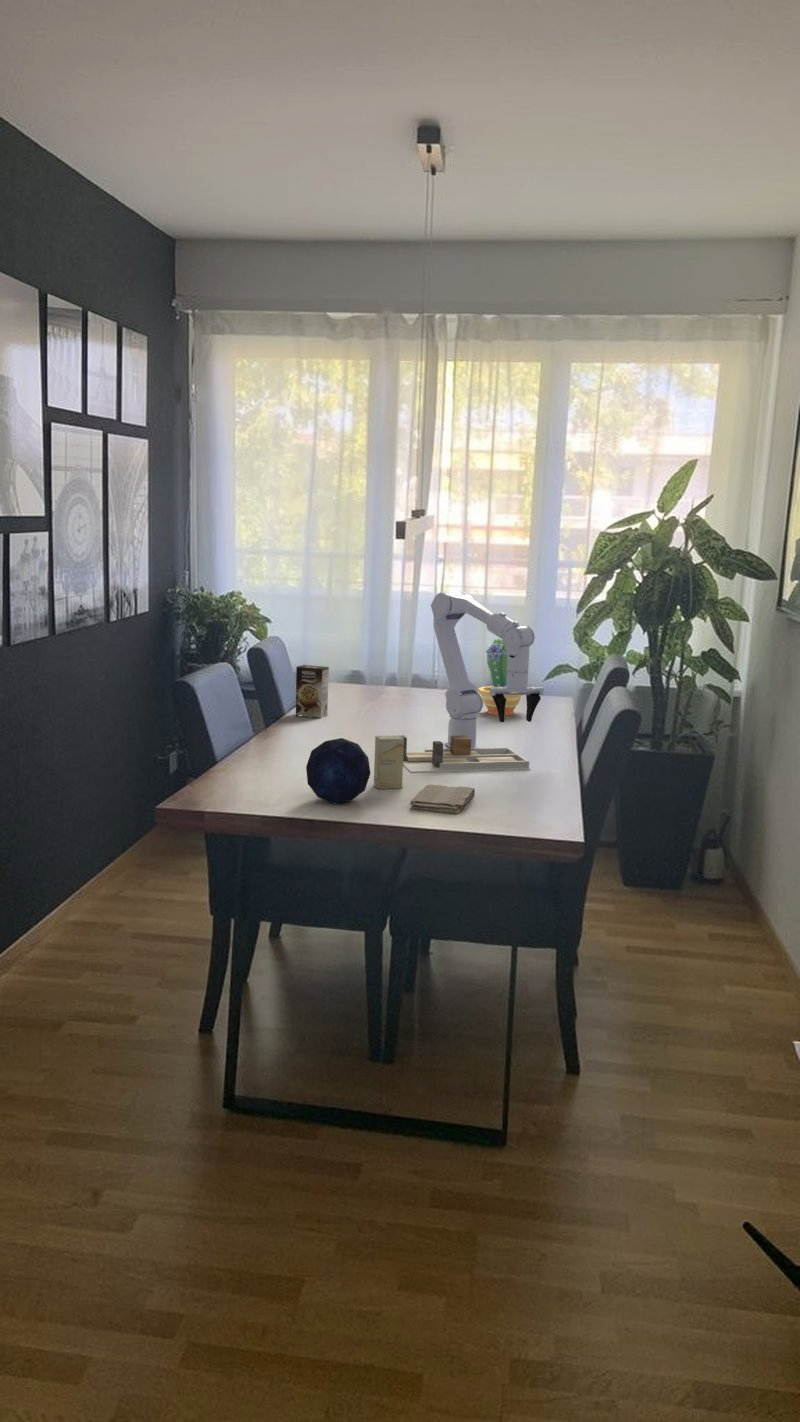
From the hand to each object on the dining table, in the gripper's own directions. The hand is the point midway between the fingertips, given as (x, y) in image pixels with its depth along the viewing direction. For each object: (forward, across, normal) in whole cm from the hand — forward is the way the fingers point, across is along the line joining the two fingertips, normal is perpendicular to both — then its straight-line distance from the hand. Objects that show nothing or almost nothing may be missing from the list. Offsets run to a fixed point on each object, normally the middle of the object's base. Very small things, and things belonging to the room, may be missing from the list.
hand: (515, 721), depth 279 cm
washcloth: (+11, -31, -41) cm, 52 cm away
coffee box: (+11, -46, +67) cm, 82 cm away
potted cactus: (+11, +18, +67) cm, 70 cm away
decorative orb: (+11, -54, -36) cm, 66 cm away
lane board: (+10, -15, -3) cm, 19 cm away
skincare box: (+11, -40, -25) cm, 48 cm away
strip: (+10, -21, +1) cm, 23 cm away
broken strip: (+10, -13, -7) cm, 18 cm away
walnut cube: (+9, -15, +1) cm, 17 cm away
